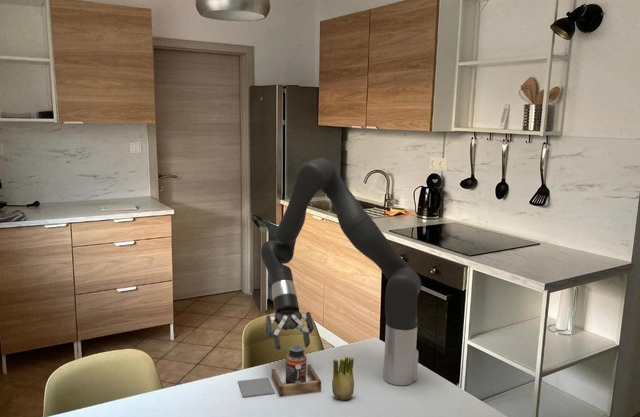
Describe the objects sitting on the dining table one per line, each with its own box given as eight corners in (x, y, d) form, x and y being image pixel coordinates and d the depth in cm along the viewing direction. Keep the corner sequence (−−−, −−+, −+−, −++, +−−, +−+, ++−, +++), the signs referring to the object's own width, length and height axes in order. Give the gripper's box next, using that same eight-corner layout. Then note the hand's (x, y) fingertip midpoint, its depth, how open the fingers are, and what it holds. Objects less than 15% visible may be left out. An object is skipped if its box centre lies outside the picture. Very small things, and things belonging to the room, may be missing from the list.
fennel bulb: (330, 400, 148) (332, 359, 146) (334, 391, 152) (335, 352, 150) (351, 403, 146) (353, 362, 144) (354, 394, 151) (356, 354, 149)
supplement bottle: (303, 391, 152) (304, 353, 150) (283, 388, 153) (283, 351, 151) (307, 381, 158) (308, 345, 156) (288, 378, 159) (289, 342, 157)
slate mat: (268, 378, 158) (268, 377, 158) (274, 393, 150) (274, 392, 150) (238, 382, 156) (238, 381, 156) (242, 397, 147) (242, 396, 147)
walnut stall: (310, 373, 162) (310, 364, 162) (320, 391, 152) (321, 381, 152) (271, 378, 159) (271, 368, 158) (279, 396, 148) (280, 386, 148)
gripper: (264, 294, 161) (271, 345, 152) (309, 290, 165) (319, 340, 157) (260, 304, 167) (267, 354, 158) (304, 301, 171) (313, 350, 162)
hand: (293, 347), depth 157 cm, fingers open, 8 cm apart
